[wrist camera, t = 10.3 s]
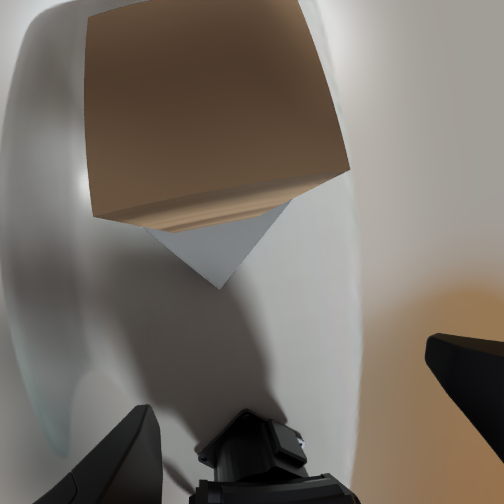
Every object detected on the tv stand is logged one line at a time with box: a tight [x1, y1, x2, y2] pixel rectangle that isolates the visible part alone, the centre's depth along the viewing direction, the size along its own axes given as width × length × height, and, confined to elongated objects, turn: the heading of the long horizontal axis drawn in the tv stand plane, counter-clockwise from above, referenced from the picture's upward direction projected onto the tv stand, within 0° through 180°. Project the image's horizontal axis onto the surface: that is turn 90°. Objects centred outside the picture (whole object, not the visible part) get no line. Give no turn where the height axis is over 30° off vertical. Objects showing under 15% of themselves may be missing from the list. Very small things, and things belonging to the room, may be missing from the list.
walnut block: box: [84, 0, 350, 233], centre depth 12 cm, size 5×5×13 cm
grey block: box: [141, 199, 292, 290], centre depth 20 cm, size 9×9×2 cm
